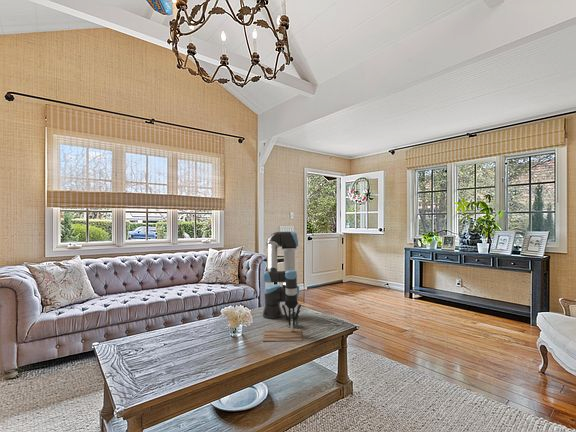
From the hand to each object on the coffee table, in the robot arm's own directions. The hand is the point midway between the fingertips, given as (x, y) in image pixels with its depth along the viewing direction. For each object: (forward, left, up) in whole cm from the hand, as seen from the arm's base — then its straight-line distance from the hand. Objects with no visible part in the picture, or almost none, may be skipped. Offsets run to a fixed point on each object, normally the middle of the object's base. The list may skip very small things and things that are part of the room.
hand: (291, 330), depth 204 cm
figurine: (-13, +2, -2) cm, 13 cm away
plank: (+1, -6, -2) cm, 6 cm away
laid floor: (+10, -6, -2) cm, 12 cm away
